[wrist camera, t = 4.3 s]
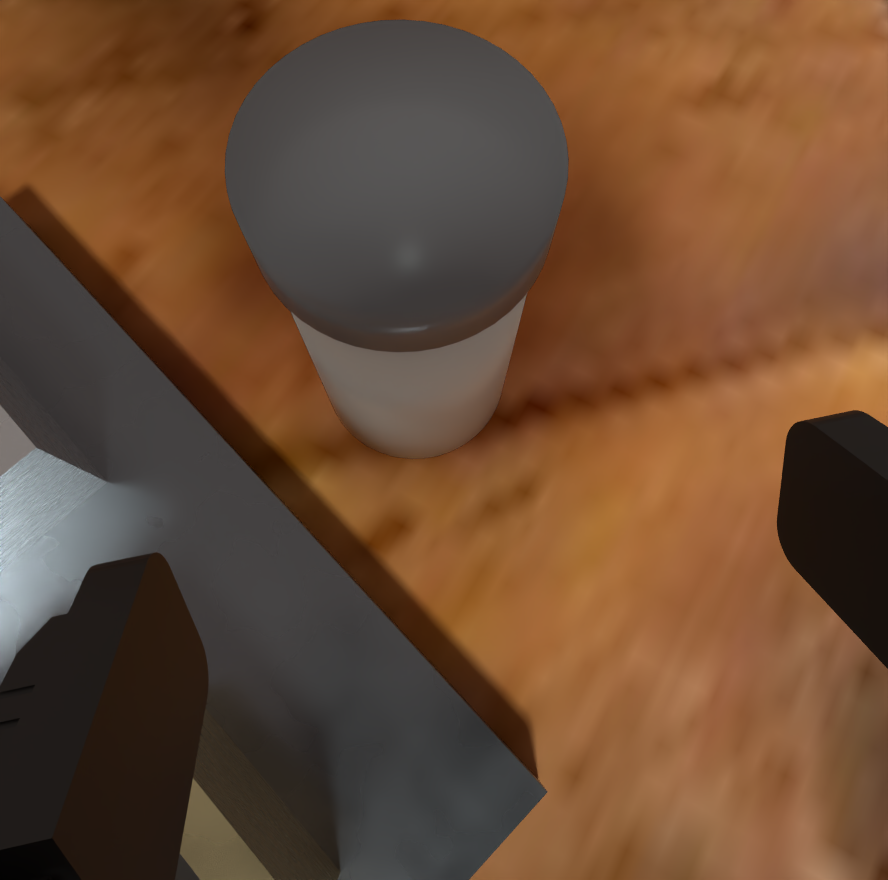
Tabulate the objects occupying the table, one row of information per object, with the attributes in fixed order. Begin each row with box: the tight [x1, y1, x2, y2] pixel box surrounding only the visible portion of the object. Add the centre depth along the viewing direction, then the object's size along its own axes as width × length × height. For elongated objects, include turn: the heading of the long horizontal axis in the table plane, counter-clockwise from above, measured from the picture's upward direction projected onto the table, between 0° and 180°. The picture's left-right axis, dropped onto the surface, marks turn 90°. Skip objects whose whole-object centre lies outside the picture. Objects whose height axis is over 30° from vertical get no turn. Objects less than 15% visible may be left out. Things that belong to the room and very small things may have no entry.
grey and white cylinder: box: [225, 20, 569, 459], centre depth 17 cm, size 6×6×10 cm
